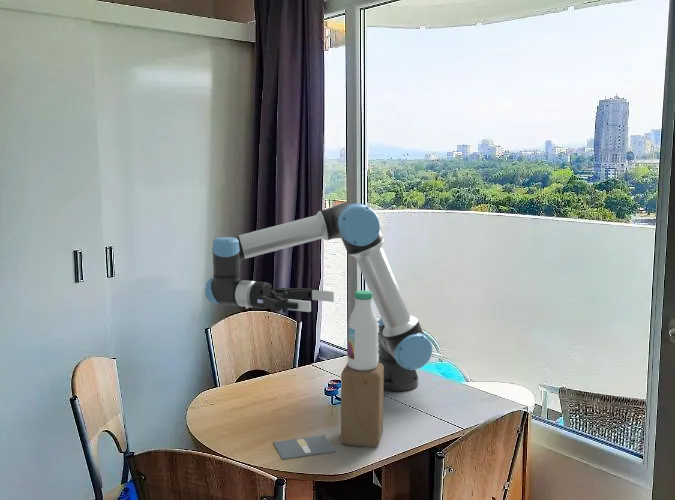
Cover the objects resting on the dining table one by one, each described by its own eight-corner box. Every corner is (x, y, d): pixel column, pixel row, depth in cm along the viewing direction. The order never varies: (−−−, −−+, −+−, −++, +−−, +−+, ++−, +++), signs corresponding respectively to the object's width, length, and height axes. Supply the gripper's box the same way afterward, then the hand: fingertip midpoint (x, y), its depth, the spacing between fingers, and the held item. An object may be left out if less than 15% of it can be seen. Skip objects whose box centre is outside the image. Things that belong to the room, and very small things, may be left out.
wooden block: (378, 449, 163) (379, 374, 160) (340, 445, 165) (340, 371, 162) (383, 433, 173) (384, 362, 170) (347, 430, 175) (347, 359, 172)
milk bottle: (380, 364, 169) (381, 290, 166) (372, 372, 161) (373, 295, 159) (353, 360, 171) (353, 288, 168) (344, 369, 164) (344, 293, 161)
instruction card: (324, 436, 171) (324, 434, 171) (336, 451, 161) (336, 450, 161) (273, 443, 166) (273, 441, 166) (282, 459, 157) (282, 458, 157)
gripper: (278, 299, 191) (342, 305, 182) (229, 317, 168) (299, 325, 159) (278, 274, 190) (342, 280, 181) (229, 289, 167) (299, 296, 158)
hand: (322, 301), depth 170 cm, fingers open, 13 cm apart
